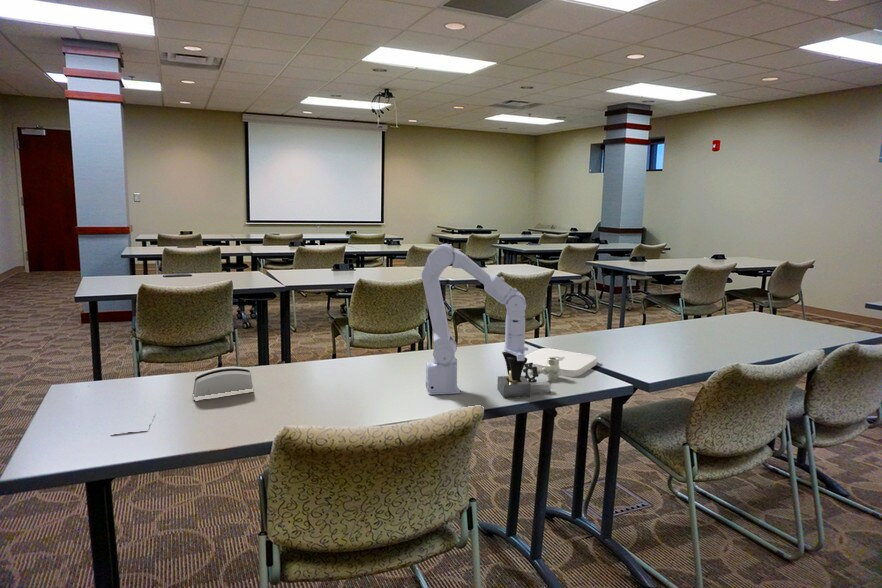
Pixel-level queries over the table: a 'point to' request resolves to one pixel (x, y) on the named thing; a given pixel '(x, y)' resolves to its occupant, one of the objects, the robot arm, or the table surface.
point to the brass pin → (511, 377)
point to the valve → (543, 370)
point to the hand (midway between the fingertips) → (513, 377)
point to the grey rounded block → (222, 381)
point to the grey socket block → (520, 387)
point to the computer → (563, 361)
